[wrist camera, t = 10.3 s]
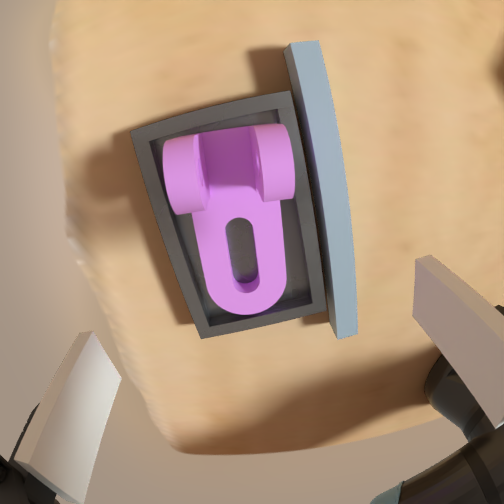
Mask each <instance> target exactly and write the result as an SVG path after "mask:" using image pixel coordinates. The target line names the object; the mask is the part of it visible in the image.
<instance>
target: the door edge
mask: <svg viewBox="0 0 504 504" xmlns="http://www.w3.org/2000/svg"><path fill="white" fill-rule="evenodd" d="M283 53H284V56H285V60H286V64H287V69H288V73H289V77H290V81H291V85H292V90H293V94H294V99H295V103H296V108H297V112H298V117H299V122H300V127H301V132H302V137H303V142H304V147H305V152H306V157H307V163H308V168H309V174H310V180H311V185H312V191H313V197H314V204H315V210H316V216H317V223H318V230H319V237H320V244H321V251H322V259H323V267H324V275H325V283H326V292H327V301H328V311H329V321H330V325H331V327H332V329H333V331H334V333H335V335H336V338H337V340H339V339H342V338H346V337H349V336H352V335H356V334H358V320H357V292H356V274H355V259H354V246H353V235H352V224H351V215H350V206H349V197H348V189H347V182H346V175H345V168H344V161H343V154H342V148H341V142H340V136H339V131H338V125H337V120H336V114H335V109H334V104H333V99H332V95H331V90H330V85H329V81H328V76H327V72H326V68H325V64H324V59H323V55H322V51H321V48H320V44H319V40H318V41H306V42H296V43H290V44H289V45H288V46H287V48H286V49H285V50H284V51H283Z"/></svg>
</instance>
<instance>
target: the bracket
mask: <svg viewBox="0 0 504 504" xmlns="http://www.w3.org/2000/svg"><path fill="white" fill-rule="evenodd" d="M163 171H164V179H165V185H166V190H167V194H168V198H169V201H170V204H171V206H172V209H173V211H174V212H175V214H177V215H180V214H186V213H192V218H193V223H194V228H195V233H196V238H197V243H198V248H199V253H200V258H201V263H202V268H203V272H204V277H205V281H206V286H207V290H208V292H209V295H210V296H211V298H212V299H213V301H214V302H215V303H216V304H217V305H218V306H220V307H221V308H223V309H224V310H226V311H229V312H231V313H235V314H242V315H248V314H255V313H259V312H262V311H264V310H266V309H268V308H269V307H271V306H272V305H274V304H275V303H276V302H277V301H278V300H279V298H280V297H281V295H282V294H283V292H284V289H285V286H286V280H287V278H286V264H285V252H284V240H283V228H282V217H281V207H280V200H284V199H292V198H293V196H294V191H295V169H294V160H293V153H292V147H291V142H290V138H289V135H288V132H287V129H286V127H285V126H284V125H283V124H260V125H252V126H243V127H235V128H228V129H221V130H214V131H208V132H202V133H196V134H190V135H185V136H180V137H177V138H174V139H170V140H167V141H165V143H164V147H163ZM238 217H240V218H245V219H247V220H248V221H250V222H251V224H252V227H253V235H254V243H255V250H256V258H257V266H258V275H257V277H256V279H255V280H254V281H252V282H250V283H240V282H238V281H237V280H235V278H234V277H233V273H232V267H231V261H230V255H229V249H228V242H227V236H226V230H225V227H226V225H227V223H228V222H229V221H230V220H232V219H234V218H238Z"/></svg>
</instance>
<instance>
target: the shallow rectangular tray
mask: <svg viewBox="0 0 504 504" xmlns="http://www.w3.org/2000/svg"><path fill="white" fill-rule="evenodd" d="M260 124H283V125H284V126H285V127H286V129H287V132H288V135H289V138H290V142H291V147H292V153H293V160H294V169H295V191H294V196H293V198H292V199H284V200H280V207H281V217H282V228H283V240H284V252H285V264H286V278H287V280H286V286H285V289H284V292H283V294H282V295H281V297H280V298H279V300H278V301H277V302H276V303H275V304H274V305H272V306H271V307H269V308H268V309H266V310H264V311H262V312H259V313H255V314H248V315H242V314H235V313H231V312H229V311H226V310H224V309H223V308H221V307H220V306H218V305H217V304H216V303H215V302H214V301H213V299H212V298H211V296H210V295H209V292H208V290H207V286H206V281H205V277H204V272H203V268H202V263H201V258H200V253H199V248H198V243H197V238H196V233H195V228H194V223H193V218H192V213H186V214H180V215H177V214H175V212H174V211H173V209H172V206H171V204H170V201H169V198H168V194H167V190H166V185H165V179H164V171H163V147H164V143H165V141H167V140H170V139H174V138H177V137H180V136H185V135H190V134H196V133H202V132H208V131H214V130H221V129H228V128H235V127H243V126H252V125H260ZM130 133H131V137H132V141H133V144H134V148H135V152H136V155H137V159H138V162H139V166H140V169H141V172H142V176H143V179H144V183H145V186H146V189H147V192H148V196H149V199H150V202H151V205H152V208H153V211H154V214H155V217H156V220H157V223H158V226H159V229H160V232H161V235H162V238H163V241H164V244H165V247H166V250H167V252H168V255H169V258H170V261H171V264H172V266H173V269H174V272H175V275H176V277H177V280H178V283H179V285H180V288H181V290H182V293H183V296H184V298H185V301H186V303H187V306H188V308H189V311H190V313H191V316H192V318H193V321H194V323H195V326H196V328H197V331H198V333H199V335H200V338H201V339H204V338H209V337H214V336H219V335H224V334H229V333H234V332H239V331H244V330H248V329H253V328H257V327H262V326H266V325H271V324H275V323H279V322H283V321H288V320H292V319H296V318H300V317H304V316H308V315H312V314H316V313H319V312H323V311H327V310H326V301H325V292H324V283H323V275H322V267H321V259H320V252H319V245H318V238H317V231H316V224H315V218H314V211H313V205H312V199H311V193H310V187H309V181H308V176H307V170H306V165H305V159H304V154H303V149H302V144H301V139H300V134H299V129H298V124H297V119H296V114H295V110H294V105H293V101H292V96H291V92H290V91H284V92H278V93H272V94H267V95H261V96H256V97H251V98H246V99H242V100H237V101H232V102H228V103H224V104H220V105H216V106H212V107H208V108H204V109H200V110H196V111H193V112H189V113H185V114H182V115H179V116H175V117H172V118H169V119H165V120H162V121H159V122H156V123H153V124H150V125H147V126H144V127H141V128H138V129H135V130H132V131H130ZM225 230H226V236H227V242H228V249H229V255H230V261H231V267H232V273H233V277H234V278H235V280H237V281H238V282H240V283H250V282H252V281H254V280H255V279H256V277H257V275H258V266H257V258H256V250H255V243H254V235H253V227H252V224H251V222H250V221H248V220H247V219H245V218H240V217H238V218H234V219H232V220H230V221H229V222H228V223H227V225H226V227H225Z"/></svg>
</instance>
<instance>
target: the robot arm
mask: <svg viewBox="0 0 504 504" xmlns="http://www.w3.org/2000/svg"><path fill="white" fill-rule="evenodd" d="M412 316H413V317H414V318H415V320H416V321H417V322H418V323H419V325H420V326H421V327H422V328H423V329H424V331H425V332H426V333H427V334H428V336H429V337H430V338H431V340H432V341H433V342H434V343H435V345H436V346H437V347H438V349H439V350H440V351H441V352H442V356H441V357H440V358H439V360H438V361H437V362H436V364H435V365H434V367H433V368H432V370H431V372H430V374H429V376H428V378H427V380H426V383H425V395H426V397H427V399H428V400H429V402H430V404H431V405H432V407H433V408H434V409H435V410H437V411H438V412H440V413H441V414H442V415H443V416H445V417H446V418H447V419H449V420H450V421H451V422H453V423H454V424H455V425H456V426H458V427H459V428H460V429H461V430H462V432H463V433H464V435H465V437H466V438H467V440H468V442H469V443H467V444H466V445H464V446H463V447H462V448H460V449H459V450H457V451H456V452H454V453H453V454H451V455H449V456H448V457H446V458H445V459H443V460H441V461H440V462H438V463H436V464H435V465H434V466H431V467H430V468H428V469H426V470H425V471H423V472H421V473H419V474H417V475H416V476H414V477H412V478H410V479H408V480H406V481H402V482H400V483H399V485H397V486H395V487H393V488H392V489H389V490H388V491H386V492H384V493H382V494H380V495H378V496H376V498H374V499H373V500H372V501H371V503H370V504H504V307H502V306H500V305H497V306H495V307H493V306H492V305H491V304H490V303H489V302H488V301H487V300H485V299H484V298H483V297H482V296H481V295H480V294H479V293H477V292H476V291H475V290H474V289H473V288H472V287H470V286H469V285H468V284H467V283H466V282H464V281H463V280H462V279H461V278H460V277H458V276H457V275H456V274H455V273H453V272H452V271H451V270H450V269H448V268H447V267H446V266H445V265H443V264H442V263H441V262H440V261H438V260H437V259H436V258H434V257H433V256H432V255H428V256H425V257H421V258H418V259H415V286H414V303H413V315H412ZM120 381H121V376H120V375H119V373H118V372H117V370H116V369H115V367H114V365H113V364H112V362H111V361H110V359H109V357H108V356H107V354H106V352H105V351H104V349H103V347H102V345H101V344H100V342H99V341H98V339H97V337H96V335H95V333H94V332H93V331H89V332H82V333H79V335H78V336H77V338H76V339H75V341H74V343H73V344H72V346H71V348H70V349H69V351H68V353H67V355H66V356H65V358H64V360H63V361H62V363H61V365H60V367H59V369H58V370H57V372H56V374H55V376H54V377H53V379H52V381H51V383H50V385H49V387H48V389H47V391H46V393H45V394H44V396H43V398H42V400H41V402H40V403H39V404H38V405H37V406H36V407H35V409H34V410H33V411H32V412H31V414H30V416H29V419H28V421H27V423H26V425H25V427H24V429H23V430H24V431H23V432H22V433H21V435H20V437H19V439H18V441H17V444H16V446H15V448H14V450H13V453H12V455H11V457H10V460H9V461H8V462H7V461H6V460H5V459H4V458H3V457H2V456H1V455H0V504H60V503H59V502H58V501H57V500H56V499H55V497H56V494H58V495H59V496H60V497H62V498H63V499H65V500H66V501H68V502H72V503H76V504H84V500H85V496H86V492H87V488H88V485H89V481H90V477H91V473H92V469H93V466H94V462H95V459H96V455H97V452H98V449H99V445H100V442H101V439H102V435H103V432H104V429H105V426H106V423H107V419H108V416H109V413H110V410H111V407H112V404H113V401H114V398H115V395H116V393H117V389H118V387H119V384H120Z"/></svg>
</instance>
